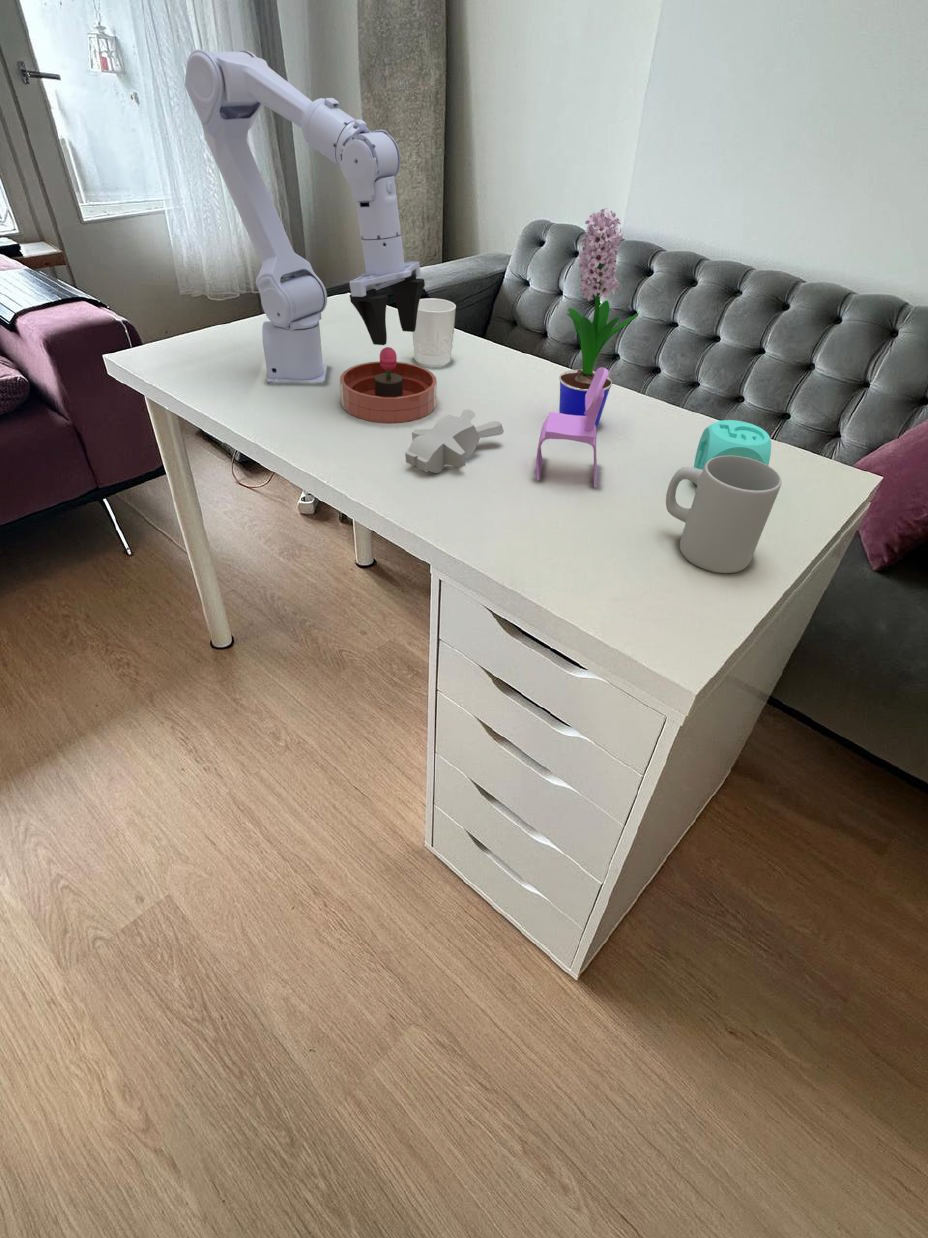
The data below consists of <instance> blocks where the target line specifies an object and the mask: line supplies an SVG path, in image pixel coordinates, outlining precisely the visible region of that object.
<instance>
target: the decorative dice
mask: <svg viewBox="0 0 928 1238" xmlns="http://www.w3.org/2000/svg"><path fill="white" fill-rule="evenodd" d="M771 455H772V439H771V437H770V434H769V433H768V432H767V431H766V430H765V429H763V428H762V427H760V426H758V425H755V424H753V423H750V422H747V421H742V420H736V419H722V420H718V421H715V422H713V423H712V424H710V425H708V426H707V427H705V428H704V430H703V432H702V434H701V436H700V438H699V441H698V445H697V448H696V453H695V458H694V461H693V462H694V463H693V468H698V469H702V470H703V469H704V466H705V464H706V463H707V462H708V461H709V460H710V459H712V458H715V457H719V456H740V457H746V458H750V459H754V460H757V461H759V462H762V463H764V464H766V465H768V466H769V465H770V460H771Z"/></svg>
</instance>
